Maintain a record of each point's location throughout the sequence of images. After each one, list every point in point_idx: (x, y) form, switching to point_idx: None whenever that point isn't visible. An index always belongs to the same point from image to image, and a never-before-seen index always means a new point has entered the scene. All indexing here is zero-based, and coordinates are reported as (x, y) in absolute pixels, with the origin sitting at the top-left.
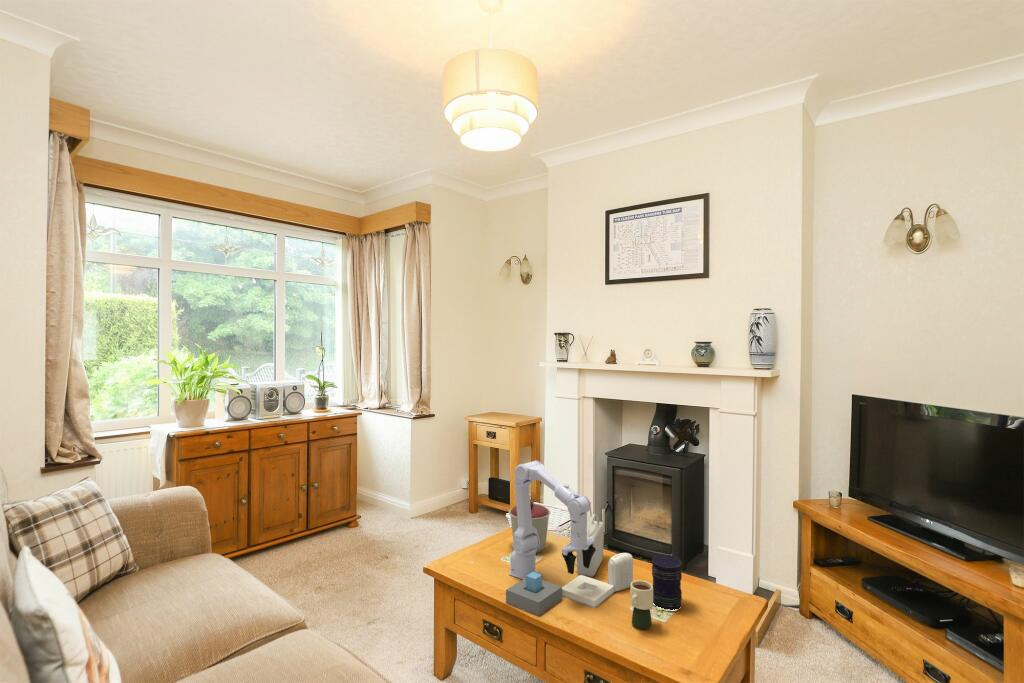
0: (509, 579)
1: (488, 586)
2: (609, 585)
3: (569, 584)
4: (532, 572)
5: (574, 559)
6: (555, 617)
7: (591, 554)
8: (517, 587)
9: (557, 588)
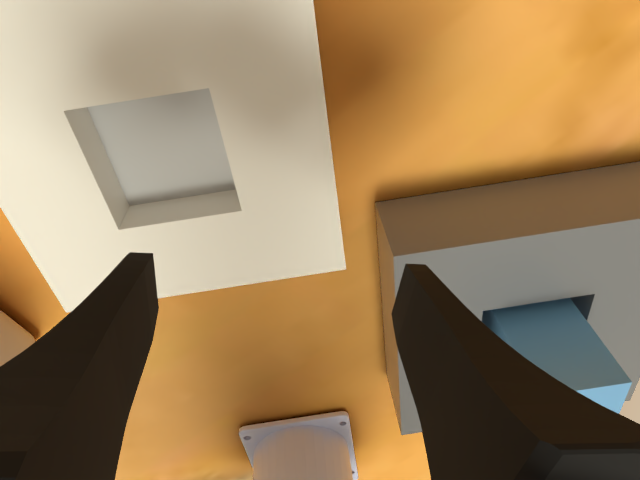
0: (387, 452)
1: None
2: None
3: (248, 269)
4: None
5: (535, 404)
6: (613, 74)
7: (40, 387)
8: None
9: (440, 258)
